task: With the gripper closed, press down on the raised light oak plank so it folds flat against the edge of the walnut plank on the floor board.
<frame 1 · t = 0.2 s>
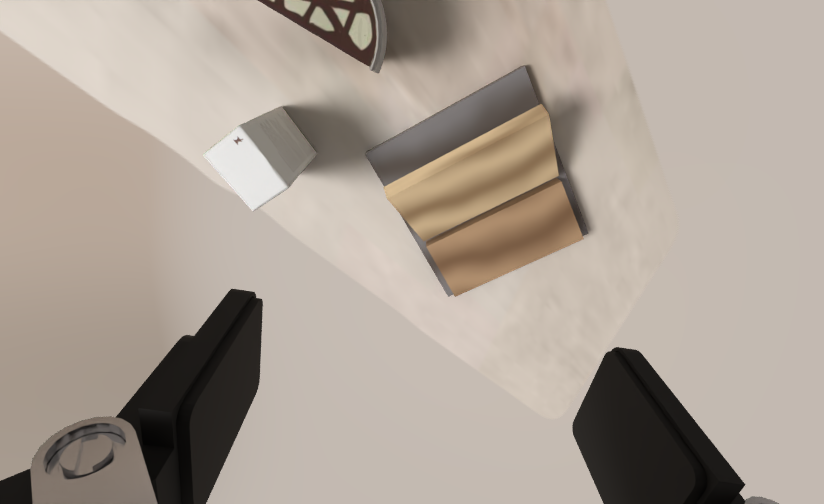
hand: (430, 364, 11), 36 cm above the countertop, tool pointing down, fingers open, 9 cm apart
floor board: (480, 192, 47), on the countertop
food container: (341, 3, 39), on the countertop
oak plank: (475, 181, 42), point 4 cm above the countertop, hinge at 35.0°
skincare box: (286, 141, 44), on the countertop
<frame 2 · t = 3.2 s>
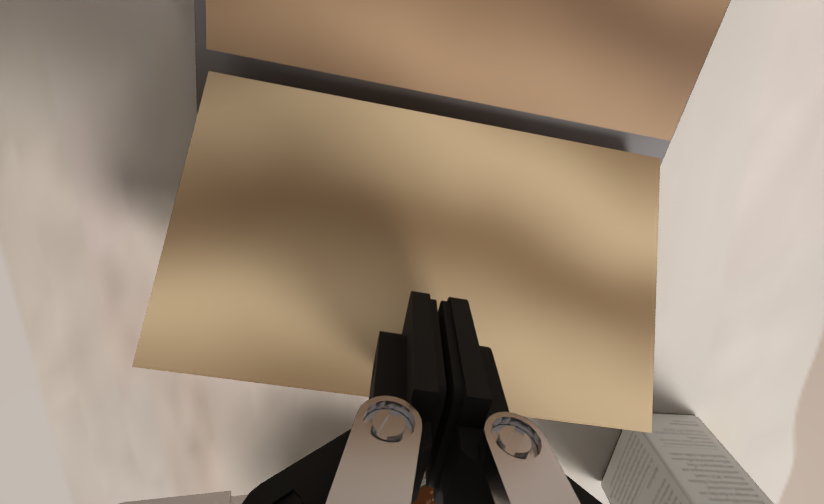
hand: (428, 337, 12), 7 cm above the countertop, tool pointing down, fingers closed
floor board: (433, 144, 17), on the countertop
oak plank: (424, 253, 14), point 4 cm above the countertop, hinge at 34.1°, touching gripper
skincare box: (645, 446, 25), on the countertop
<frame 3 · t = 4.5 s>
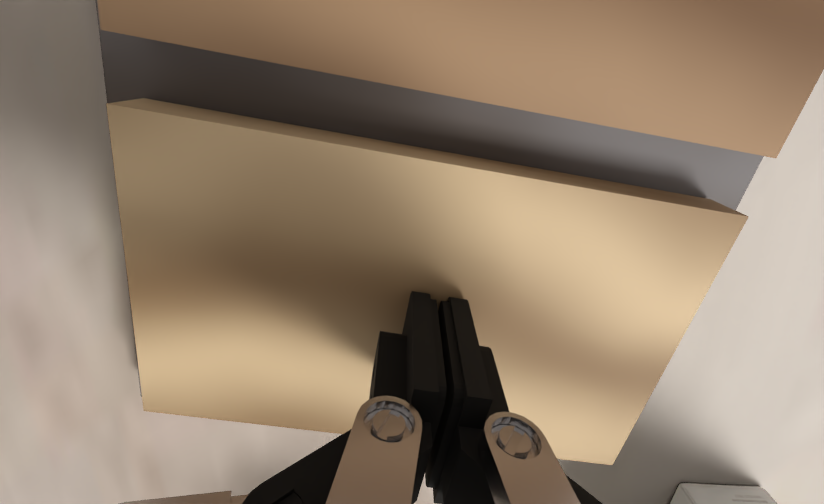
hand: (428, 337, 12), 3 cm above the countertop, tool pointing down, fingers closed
floor board: (437, 161, 13), on the countertop
oak plank: (414, 309, 13), point 2 cm above the countertop, hinge at -0.7°, touching floor board, gripper
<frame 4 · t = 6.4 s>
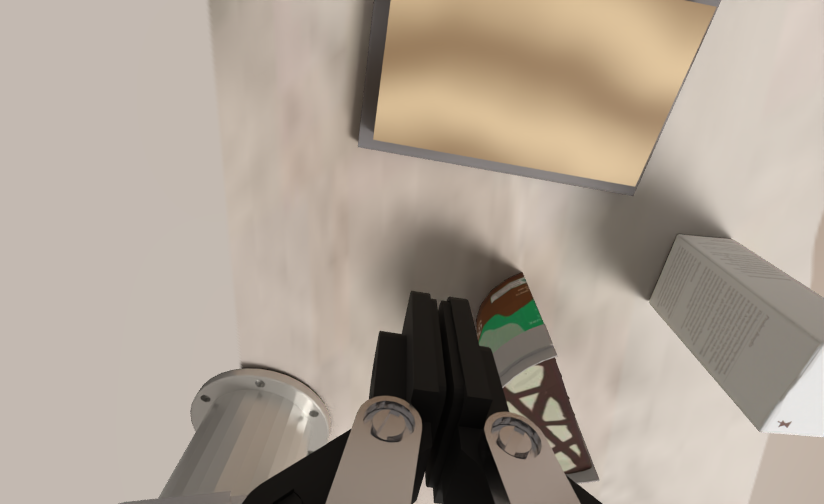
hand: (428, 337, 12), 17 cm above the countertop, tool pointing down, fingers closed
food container: (501, 328, 34), on the countertop
oak plank: (528, 77, 23), point 2 cm above the countertop, hinge at -0.6°, touching floor board
skincare box: (687, 269, 31), on the countertop
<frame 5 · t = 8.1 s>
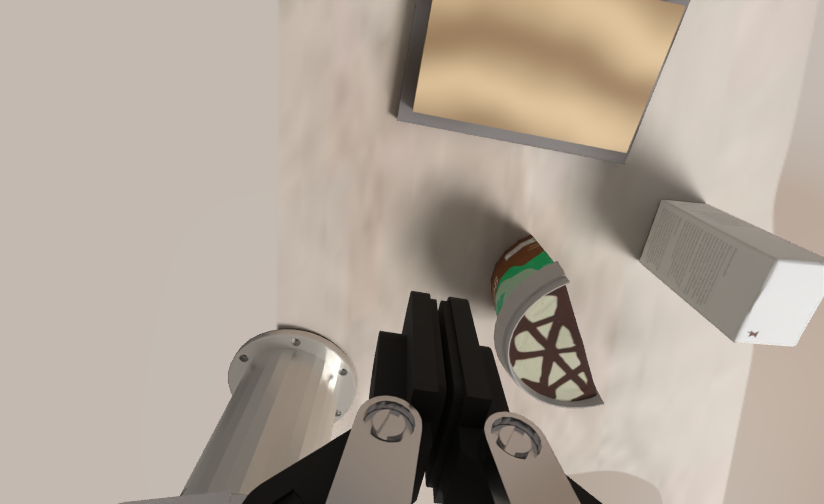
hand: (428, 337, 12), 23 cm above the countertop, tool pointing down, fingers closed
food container: (512, 288, 38), on the countertop
oak plank: (539, 61, 29), point 2 cm above the countertop, hinge at -0.6°, touching floor board
skincare box: (670, 231, 36), on the countertop
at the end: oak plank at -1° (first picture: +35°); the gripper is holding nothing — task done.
